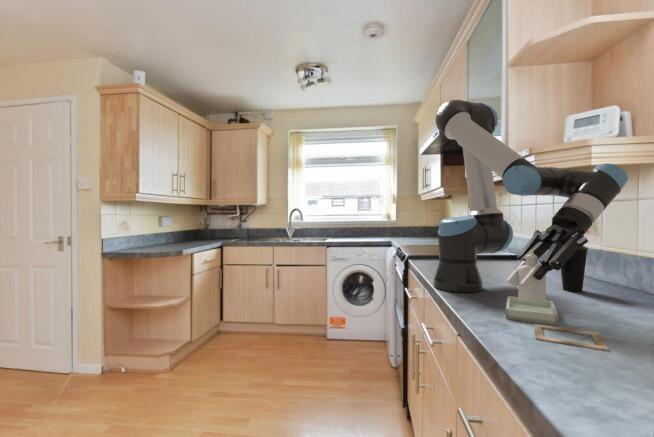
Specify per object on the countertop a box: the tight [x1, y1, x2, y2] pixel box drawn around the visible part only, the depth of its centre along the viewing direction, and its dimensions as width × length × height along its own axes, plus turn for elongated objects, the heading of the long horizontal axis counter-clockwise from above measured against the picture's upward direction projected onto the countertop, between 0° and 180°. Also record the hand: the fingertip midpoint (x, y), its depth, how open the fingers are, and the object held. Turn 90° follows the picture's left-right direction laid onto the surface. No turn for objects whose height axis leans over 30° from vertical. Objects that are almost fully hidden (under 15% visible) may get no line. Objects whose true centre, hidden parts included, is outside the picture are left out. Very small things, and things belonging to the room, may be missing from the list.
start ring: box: [533, 323, 610, 352], centre depth 64 cm, size 11×9×1 cm
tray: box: [505, 295, 559, 327], centre depth 78 cm, size 10×13×2 cm
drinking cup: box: [560, 245, 589, 293], centre depth 100 cm, size 8×8×20 cm
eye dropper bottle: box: [517, 250, 547, 301], centre depth 78 cm, size 4×6×12 cm
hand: (517, 285), depth 77 cm, fingers closed on eye dropper bottle, 4 cm apart
